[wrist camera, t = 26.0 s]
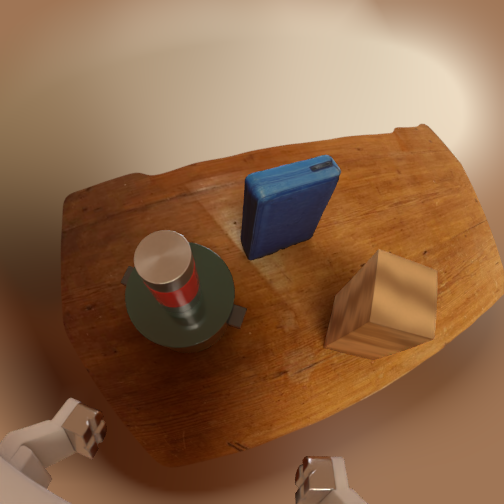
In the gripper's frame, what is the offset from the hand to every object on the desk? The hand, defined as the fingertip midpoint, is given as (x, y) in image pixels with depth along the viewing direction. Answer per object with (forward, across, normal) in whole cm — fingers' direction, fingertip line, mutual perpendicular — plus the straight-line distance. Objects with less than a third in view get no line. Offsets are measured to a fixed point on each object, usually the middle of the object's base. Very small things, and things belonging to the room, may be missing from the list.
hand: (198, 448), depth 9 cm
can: (+29, -9, -8) cm, 32 cm away
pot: (+36, -9, -15) cm, 40 cm away
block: (+37, +20, -14) cm, 44 cm away
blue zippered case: (+47, +4, -3) cm, 48 cm away
